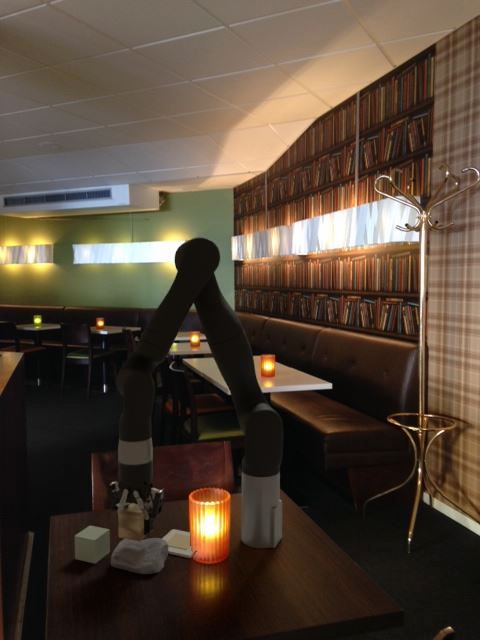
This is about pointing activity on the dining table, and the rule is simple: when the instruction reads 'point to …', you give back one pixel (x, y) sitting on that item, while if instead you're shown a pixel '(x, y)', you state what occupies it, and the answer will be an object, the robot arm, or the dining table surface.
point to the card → (179, 543)
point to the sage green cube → (92, 544)
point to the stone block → (140, 555)
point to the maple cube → (131, 523)
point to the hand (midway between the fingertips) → (136, 531)
